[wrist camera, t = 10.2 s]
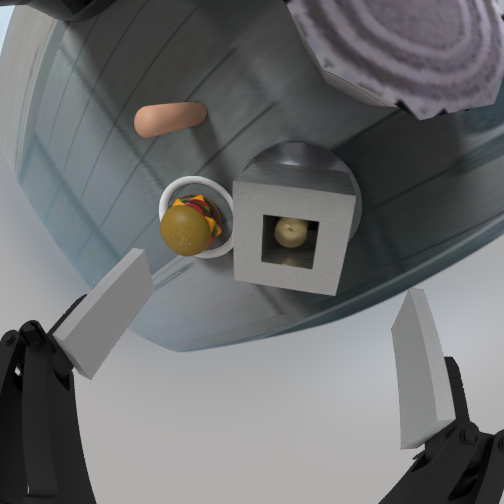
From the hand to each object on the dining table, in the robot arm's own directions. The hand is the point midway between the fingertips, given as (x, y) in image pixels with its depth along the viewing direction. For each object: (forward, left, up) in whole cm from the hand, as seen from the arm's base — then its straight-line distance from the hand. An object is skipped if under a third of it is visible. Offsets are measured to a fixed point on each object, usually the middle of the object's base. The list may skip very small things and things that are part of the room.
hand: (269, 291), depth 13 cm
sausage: (-12, +2, -13) cm, 18 cm away
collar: (0, 0, -12) cm, 12 cm away
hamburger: (-7, -7, -14) cm, 17 cm away
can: (-3, +15, -13) cm, 20 cm away
